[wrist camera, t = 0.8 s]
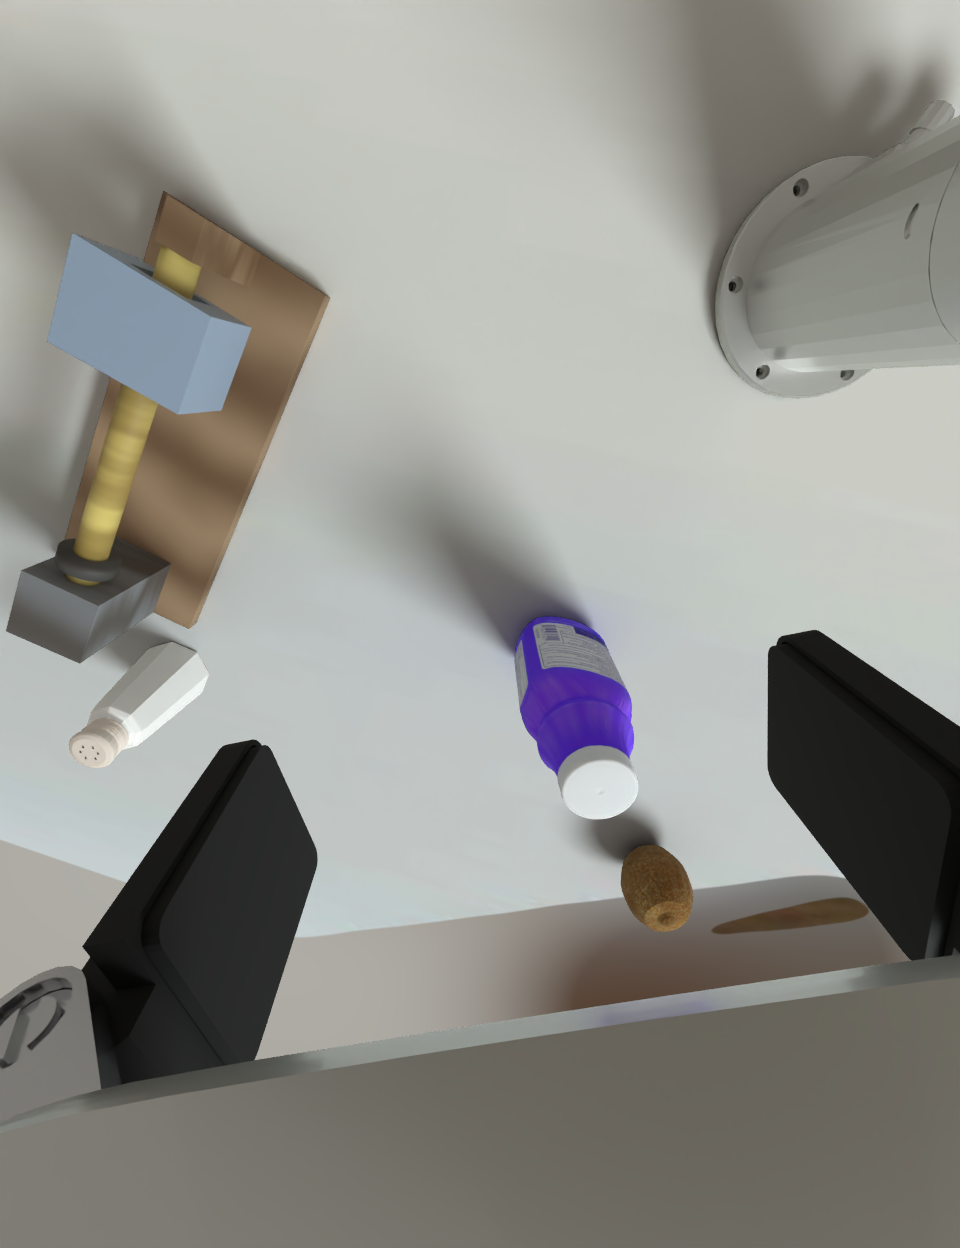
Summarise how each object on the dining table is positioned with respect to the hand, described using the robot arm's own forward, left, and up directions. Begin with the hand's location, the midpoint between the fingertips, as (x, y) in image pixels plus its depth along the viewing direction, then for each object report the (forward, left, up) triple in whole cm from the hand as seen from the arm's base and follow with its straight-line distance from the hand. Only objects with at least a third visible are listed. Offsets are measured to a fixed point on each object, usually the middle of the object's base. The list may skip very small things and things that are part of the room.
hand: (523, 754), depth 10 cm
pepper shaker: (+26, -14, -31) cm, 43 cm away
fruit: (+23, +32, -31) cm, 50 cm away
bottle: (+8, +12, -31) cm, 34 cm away
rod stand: (+8, -19, -31) cm, 37 cm away
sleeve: (+1, -19, -26) cm, 32 cm away
